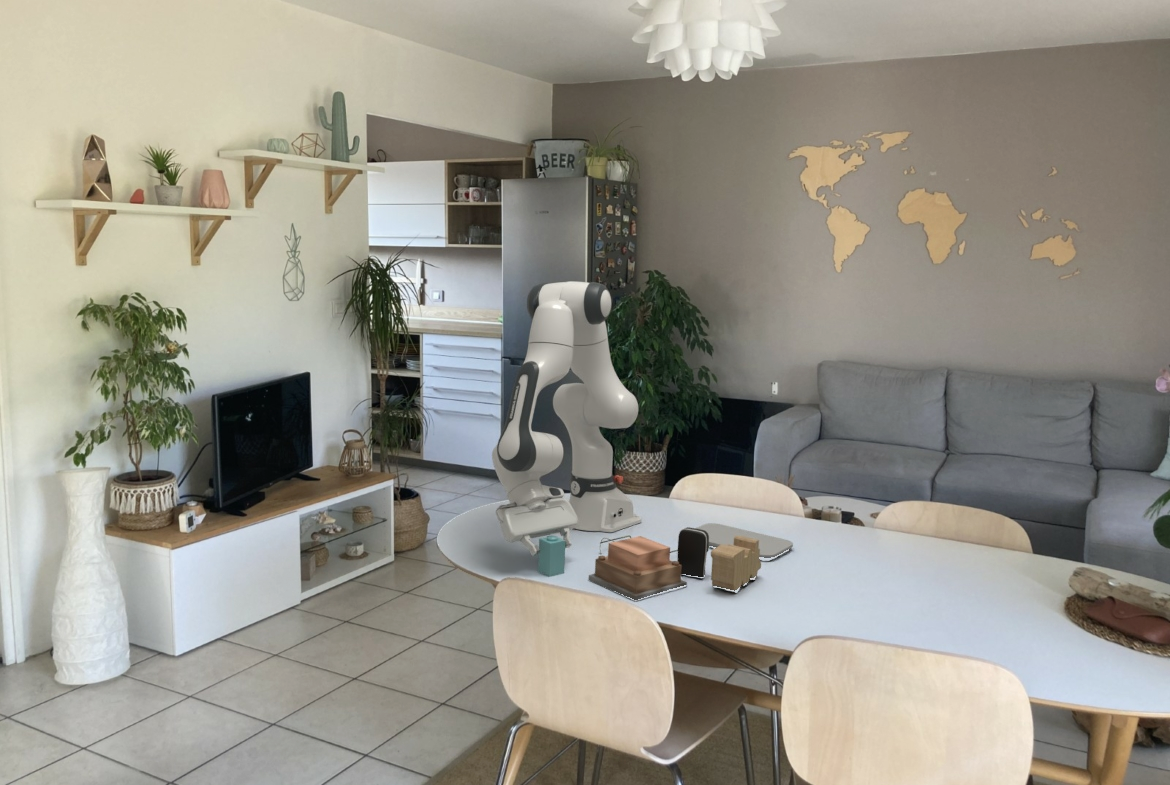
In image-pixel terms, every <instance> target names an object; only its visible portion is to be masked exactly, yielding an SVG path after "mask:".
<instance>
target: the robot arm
mask: <svg viewBox="0 0 1170 785" xmlns="http://www.w3.org/2000/svg"><path fill="white" fill-rule="evenodd" d="M526 299H527V300H526V308H527V313H528V315H529V317H530V319H531V320H532V322H531V326H530V329H529V335H528V346H527V351H526V355H525V359H524V361H523V363H522V365H521V366H520V367H519V369H518V371H517V372H516V375H515V380H514V383H513V387H512V391H511V395H510V400H509V405H508V410H507V414H506V418H505V423H504V426H503V429H502V431H501V433H500V436H499V439H498V441H497V444H496V446H494V448H493V450H492V452H491V458H492V459H491V460H492V465H493V468H494V470H495V473H496V475H497V477H498V480H499V483H500V484H501V485H502V486H503V487H504V489H505V493H506V497H507V500H508V501H509V503H507V504H500V505H498V507H497V508H496V510H495V515H496V517H497V520H498V521H499V524H500V529H501V532H502V535H503V537H504V539H505V541H507V543H516V542H520V543H521V545H522V546H523V547H525V548H526V549H527V550H529V552H530V554H531V556H537V555H539V552H540V549H539V544H534V543H533V542H532V541H531V539H535V538H539V537H540V538H541V537H544V536H551V535H554V534H555V535H556V534H560V536H561V537H562V538H563V540H565V549H569V548H570V547H571V546H572V542H571V539H570V533H571V531H573V530H574V529H576V530H580V531H587V532H588V531H589V532H591V531H592V532H604V533H605V532H606V533H614V532H616V531H619V530H622V529H625V528H629V527H631V526H634V525H637V524H640V523H642V517H640V516H639V515H638V514H635V512H634V503H633V501H632V499H631V498H630V497H628V496H627V495H626V494H625V493H624V492H623V491H621V489H619V488H618V487H617V483H618V484H622V483H623V482H624V477H623V476H622V475H618V474H617V475H614V474H613V460H614V458H613V457H614V451H613V446H612V445H611V443H610V442H609V441H608V440H607V439H606V438H604V436H603V434H602V433H601V430H600V427H601V428H605V429H611V430H614V429H627V428H629V427H631V426H632V425H634V423H635V421H636V419H637V418H638V415H639V404H638V400H637V397H636V396H635V394H633V393H632V392H631V391H629V390H628V389H627V388H626V386H624V384H623V383H622V382H621V380H620V379H619V377H618V375H617V373H616V371H615V368H614V366H613V363H612V358H611V352H610V345H609V338H608V330H607V325H606V324H607V323H606V320H607V319H608V318H609V316H610V314H611V310H612V295H611V293H610V290H609V289H608V288H607V287H606V285H605V284H603V283H599V282H595V281H590V282H587V281H576V280H575V281H571V280H570V281H563V282H562V281H561V282H553V283H548V282H544V283H543V282H542V283H539V284H535V285H534V286H533V287H532V288H531V289H530V291H529V292H528V295H527V298H526ZM570 369H571V372H572V373H573V374H574V375H576V377H578V378H579V379H580V381H582V382H583V383H580V382H573V383H565V384H564V383H563V384H561V385H560V386H559V387H558V388H557V389H556V391H555V393H554V394H553V397H552V406H553V410H554V412H555V414H556V415H557V417H559V418H560V420H561V421H562V423H563V424H564V426H565V427H566V430H567V432H568V435H569V439H570V442H571V451H572V464H571V467H572V468H571V469H572V470H571V472H570V478H569V490H570V494H569V499H567V498H565V497H564V496H565V492H564V490H563V489H562V488H560V487H554V486H548V485H545V484H542V482H541V480H540V479H541V477H544V476H547V475H549V474H550V473H553V472H554V471H555V470H557V469H558V468H559V467H560V466H561V465H562V462H563V460H564V457H565V455H564V454H565V450H564V445H563V442H562V441H561V439H560V438H559V437H558V436H557V435H555V434H551V433H546V432H541V431H540V432H539V431H533V430H532V422H533V418H534V413H535V408H536V405H537V399H538V396H539V394H540V392H541V391H542V390H543V389H544V388H546V387H547V386H549V385H551V384H555V383H557V382H558V381H560V380H562V379H564V377H566V376H567V374H569V371H570Z"/></svg>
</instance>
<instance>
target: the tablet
mask: <svg viewBox="0 0 1170 785" xmlns="http://www.w3.org/2000/svg"><path fill="white" fill-rule="evenodd" d="M695 528H696V529H701V530H705V531H706V532H707V533H708V535H709V546H713V547H718V546H720V545H721V544H723V545H728V544H730V545H733V544H734V537H735V536H737V535H738V536H743V537H747V538H752V539H757V540H759V549H760V555H759V557H764V558H771V557H775V556H777V555H779V554H781V553H783V552H784V551H786V550H788V549H790V550H791V549H792V548H793V547H794V542H792V541H791V540H788V539H785V538H780V537H775V536H772V535H769V534H768V535H767V534H763V533H761V532H760V533H759V532H755V531H750V530H746V529H741V528H739V527H738V528H737V527H734V526H729V525H725V524H720V523H715V522H714V523H713V522H712V523H705V524H702V525H700V526H697V527H695Z"/></svg>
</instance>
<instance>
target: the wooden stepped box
mask: <svg viewBox="0 0 1170 785" xmlns="http://www.w3.org/2000/svg"><path fill="white" fill-rule="evenodd" d="M607 548H608V549H607V550H608V551H607V552H608V553H607V556H605V555H598V557H597V558H595V562H594V564H595V565H594V573H592V574H588V581H589V580H590V581H589V582H592V583H594V584H596V585H598V586H600V587H603V586H604V587H603V588H605V587H606V588H605V589H607V588H608V589H607V590H609V589H611V590H612V591H611V590H610V591H611V592H613V591H616V592H618V593H620V594H623V595H624V596H627V597H630V598H632V599H634V600H638V599H641V598H644V597H647V596H650V595H653V594H657V593H660V592H663V591H667V590H669V589H673V588H677V587H680V586H684V585H687V586H688V583H687V581H685V580H682V575H681V568H682V565H680V564H679V562H678V560H673V561H672V560H671V559H670V558H671V553H670V552H671V547H670V546H667V545H666V544H662V543H660V542H657V541H655V540H652V539H649V538H647V537H643V536H642V535H639V536H638V535H637V536H634V537H631V538H630V537H628V538H624V539H621V540H620V539H619V540H615V542H613V541H610V542H608V547H607ZM616 592H615V593H616ZM618 593H617V594H618ZM620 594H619V595H620ZM624 596H623V597H624ZM627 597H626V598H627Z"/></svg>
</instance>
